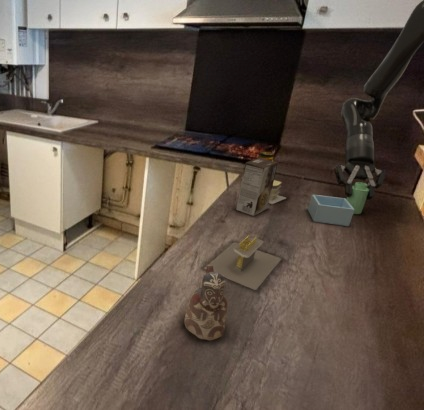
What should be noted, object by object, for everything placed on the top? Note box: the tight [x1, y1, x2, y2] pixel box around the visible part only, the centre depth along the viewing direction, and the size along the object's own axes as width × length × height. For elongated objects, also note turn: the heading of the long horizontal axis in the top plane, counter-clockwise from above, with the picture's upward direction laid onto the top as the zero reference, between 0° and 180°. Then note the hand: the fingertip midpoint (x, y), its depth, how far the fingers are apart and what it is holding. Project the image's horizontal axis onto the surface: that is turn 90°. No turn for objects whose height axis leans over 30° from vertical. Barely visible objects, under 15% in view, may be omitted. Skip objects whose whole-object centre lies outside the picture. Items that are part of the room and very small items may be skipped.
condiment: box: [257, 151, 275, 161], centre depth 139 cm, size 7×8×12 cm
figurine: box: [184, 264, 228, 341], centre depth 64 cm, size 7×7×12 cm
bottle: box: [345, 181, 369, 215], centre depth 115 cm, size 5×5×10 cm
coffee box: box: [236, 157, 279, 217], centre depth 114 cm, size 9×6×16 cm
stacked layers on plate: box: [269, 179, 287, 205], centre depth 126 cm, size 10×9×6 cm
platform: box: [203, 234, 282, 291], centre depth 85 cm, size 12×18×7 cm, turn 137°
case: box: [307, 194, 355, 227], centre depth 111 cm, size 9×9×6 cm
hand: (359, 197), depth 113 cm, fingers closed on bottle, 5 cm apart
